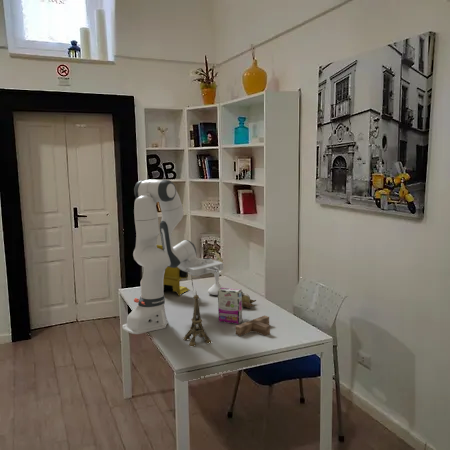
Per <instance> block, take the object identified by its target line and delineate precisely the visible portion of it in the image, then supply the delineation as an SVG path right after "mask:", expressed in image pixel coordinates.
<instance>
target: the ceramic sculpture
mask: <svg viewBox="0 0 450 450" xmlns="http://www.w3.org/2000/svg"><path fill="white" fill-rule="evenodd" d="M255 302H257V299H251V297H250V295H249V294H248V293H243V291H242V308H254V307H255V306H256V305H254V303H255Z"/></svg>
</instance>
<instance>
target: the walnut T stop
mask: <svg viewBox="0 0 450 450" xmlns="http://www.w3.org/2000/svg"><path fill="white" fill-rule="evenodd" d="M234 327H235V335H237V336H239V337H242V336H244V335H246V334H249V333H252V332H255V333H256V334H260V335H263V336H269V335H270V334H271V325H270V316H268V315H262V316H260V317H256V318H254V319H251V320H248V321H245V322H243V323H242V322H241V323H239V324H237V325H234ZM241 335H242V336H241Z"/></svg>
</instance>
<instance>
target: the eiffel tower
mask: <svg viewBox="0 0 450 450" xmlns="http://www.w3.org/2000/svg"><path fill="white" fill-rule="evenodd" d="M193 299H194V305H193V314H192V318H191V326H190V327H189V330H188V331H187V332H186V333H185V335H184V337H183V338H184V339H185V341H188V340H187V339H190V340H189V343H188V344H189V345H188V347H190V346H193V347H195V346H194V345H196V337H197V336H198V337H200V338H203V339H204V342H205V344H207V343H209V342H210V343H209V344H212V343H211V341H212V339H210V338H209V336H208V334H207V333H206V332H205V328H204V326H203V318H201V312H200V305H199V304H200V303H199V299H200V297H199V294H197V292H195V295H193ZM184 339H183V340H184ZM196 346H197V345H196Z"/></svg>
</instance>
